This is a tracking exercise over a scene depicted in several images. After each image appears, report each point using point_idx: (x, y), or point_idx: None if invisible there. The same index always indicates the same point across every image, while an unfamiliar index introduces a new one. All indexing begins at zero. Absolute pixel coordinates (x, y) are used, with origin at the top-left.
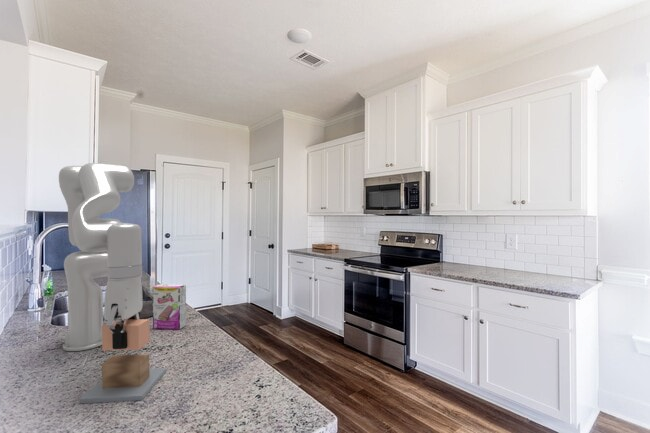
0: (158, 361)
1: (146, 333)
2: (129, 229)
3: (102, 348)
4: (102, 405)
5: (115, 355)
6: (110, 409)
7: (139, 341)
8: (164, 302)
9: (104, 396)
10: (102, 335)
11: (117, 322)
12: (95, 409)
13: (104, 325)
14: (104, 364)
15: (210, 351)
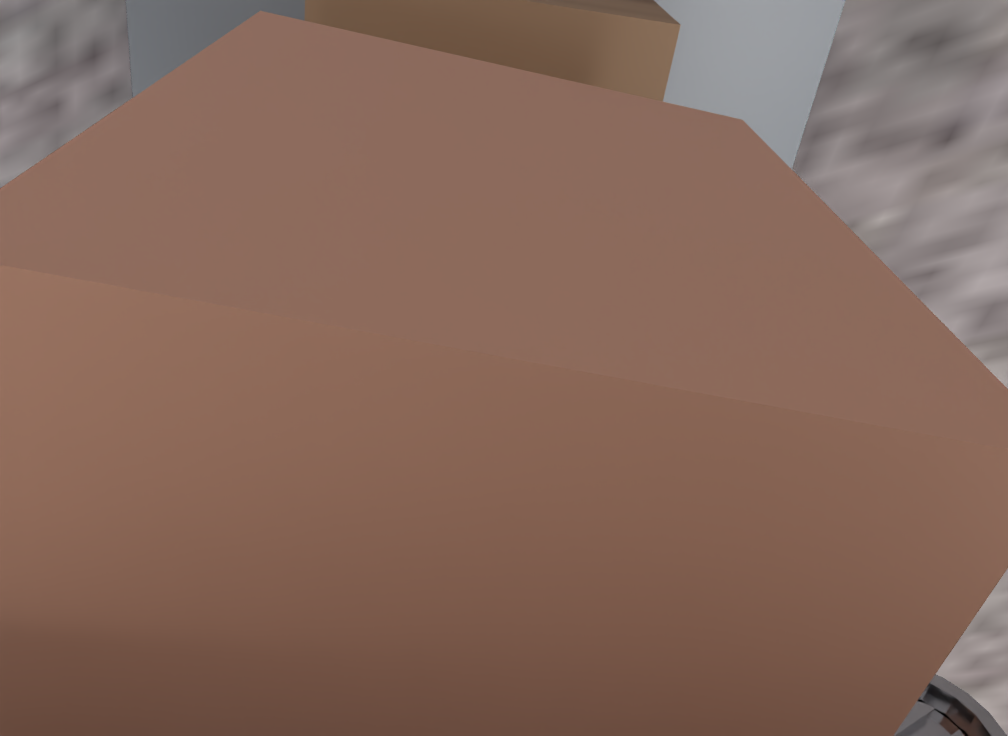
0: (1002, 318)
1: None
2: None
3: (247, 24)
4: (85, 56)
5: (655, 70)
6: (15, 169)
7: None
8: None
9: (158, 49)
10: (125, 118)
11: (484, 703)
12: (9, 13)
13: (23, 350)
14: (305, 13)
15: (989, 695)
